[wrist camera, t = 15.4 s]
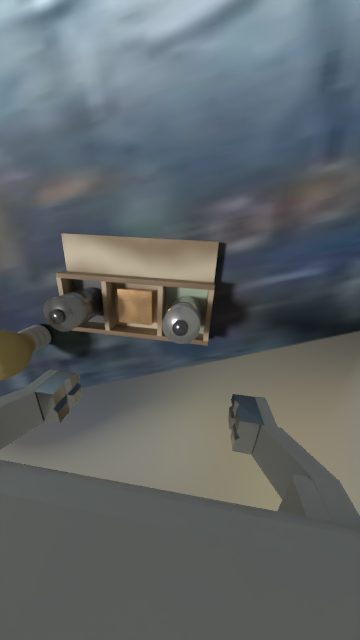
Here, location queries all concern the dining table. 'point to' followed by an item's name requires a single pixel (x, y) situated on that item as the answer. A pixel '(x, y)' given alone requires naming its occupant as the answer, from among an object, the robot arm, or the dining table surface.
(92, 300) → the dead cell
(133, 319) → the brown square tile
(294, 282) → the dining table surface
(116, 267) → the wooden compartment tray
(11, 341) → the light bulb
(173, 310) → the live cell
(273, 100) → the dining table surface
